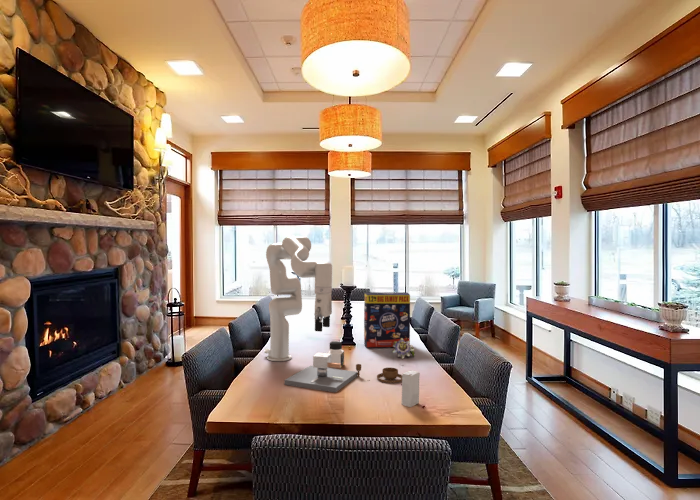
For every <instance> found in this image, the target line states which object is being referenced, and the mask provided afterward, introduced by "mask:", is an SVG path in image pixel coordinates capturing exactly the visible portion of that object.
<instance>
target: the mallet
mask: <svg viewBox="0 0 700 500" xmlns="http://www.w3.org/2000/svg"><path fill="white" fill-rule="evenodd" d="M331 356H332V354H331V353H328V352H317V353H315V354H314V355H313V356H312V366H313V367H314V368H326V369H327V368H330V367H333V369H341V368H342V367H341V363H331ZM340 367H341V368H340Z"/></svg>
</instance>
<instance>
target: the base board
mask: <svg viewBox="0 0 700 500" xmlns="http://www.w3.org/2000/svg"><path fill="white" fill-rule="evenodd" d="M357 374H358V371H354V370H348V369H341V368H330V367H328V368H327V377H318V376H317V368H314V367H313V365H310V366H307V367H306V368H304V369H302V370H300V371H299V372H296V373H294V374H292V375H291V376H288V378H284V383H283V384H284V386H293V387H297V388H298V387H299V388H303V389H304V388H305V389H309V390H310V389H311V390H316V391H323V392H330V393H335V392H336V393H338V392H339V391H340V390H341V389H342V388H344V387H345V386H346V385H348V384H349V383H351V381H353V380H355V379H356V378H358V377H357V376H358V375H357Z"/></svg>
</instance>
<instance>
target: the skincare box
mask: <svg viewBox="0 0 700 500" xmlns="http://www.w3.org/2000/svg"><path fill="white" fill-rule="evenodd" d="M401 375H402V381H401V405H402V406H405V407H408V408H412V407H414V406H415V405H417V404H419V403H420V378H421V377H420V371H415V370H409V371H406V372H403V373H402V374H401Z"/></svg>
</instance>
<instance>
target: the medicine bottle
mask: <svg viewBox="0 0 700 500" xmlns="http://www.w3.org/2000/svg"><path fill="white" fill-rule="evenodd" d="M342 343H343V342H342V341H340V340H339V341H338V340H332V341H330V342H329V351H328V352H327V353H331V354H332V356H331V363H341V367H340V368H339V369H342V367H343V366H344V364H345V350H343V349H342V348H343V344H342ZM329 368H333V367H329ZM333 369H334V368H333Z"/></svg>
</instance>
